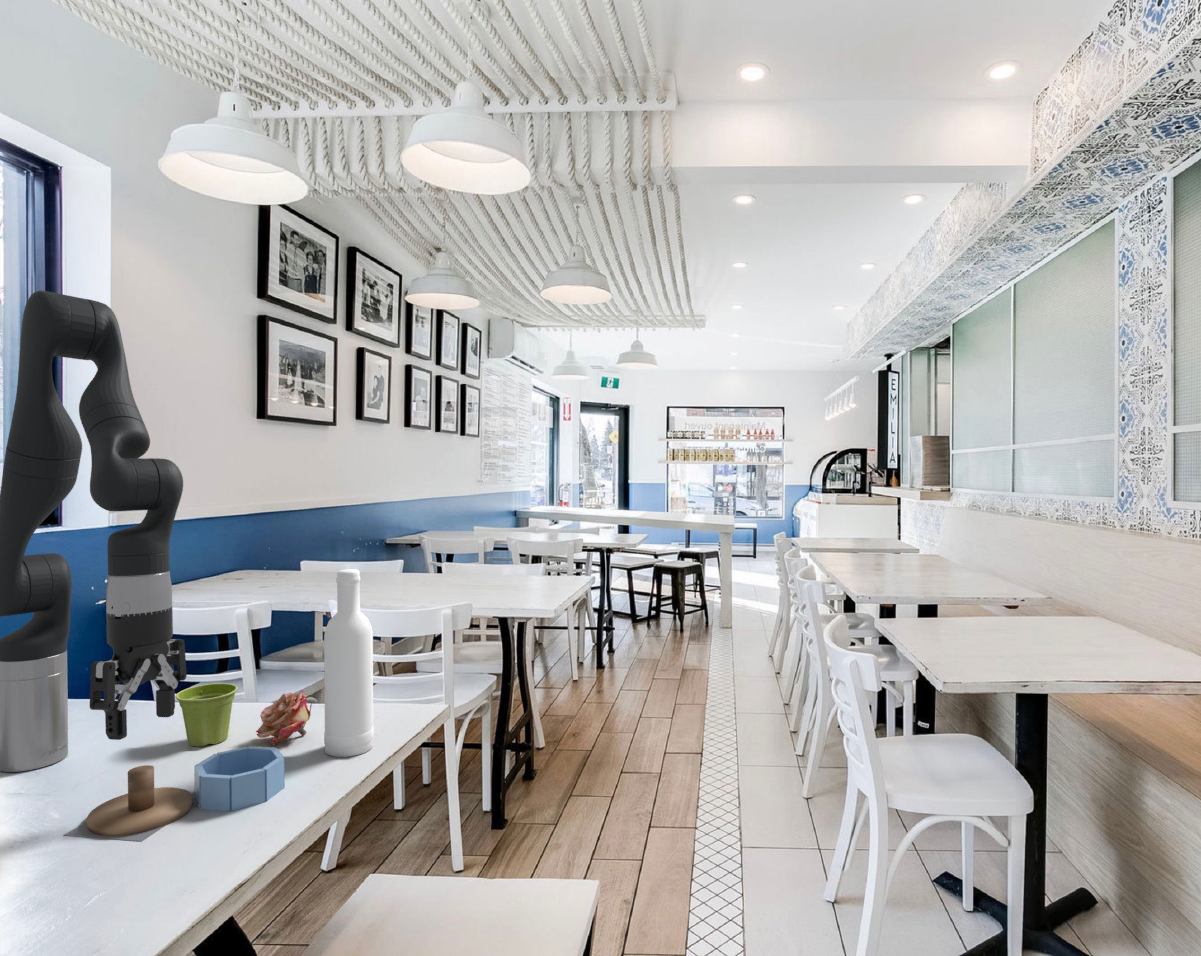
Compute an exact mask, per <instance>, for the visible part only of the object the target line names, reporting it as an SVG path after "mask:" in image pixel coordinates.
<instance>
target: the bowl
mask: <svg viewBox="0 0 1201 956" xmlns="http://www.w3.org/2000/svg"><path fill="white" fill-rule="evenodd" d="M193 767H194V771H193V772H194V773H193V775H194V794H195V799H196V801H197V803H198V808H199V809H200V810H206V811H207V810H209V811H211V810H212V811H223V812H224V811H225V812H230V811H236V810H241V809H245V808H248V807H252V806H256V805H260V804H264V803H266V802H268V801H269V800H271V799H272V798H274V796H276V795H277V794H279V793H281V792H282V790H284V789H285V785H286V784H285V756H284V755H283V753H282V752H281V751H280V750H279V748H278V747H277V748H276V747H271V746H254V745H253V746H251V745H250V746H244V747H239V748H234V749H233V748H232V749H229V750H224V751H221V752H216V753H213V754H212V755H210V756H209V757H206V758H205V759H203V760H201V761H200V762H198V763H196V764H195V765H194V766H193Z"/></svg>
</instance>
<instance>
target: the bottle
mask: <svg viewBox="0 0 1201 956" xmlns="http://www.w3.org/2000/svg"><path fill="white" fill-rule="evenodd" d="M360 575H361V574H360V570H359V569H353V568H349V569H340V570H338V571H337V573H336V578H335V579H336V585H337V586H336V589H337V590H336V593H337V595H336V596H337V597H336V599H337V601H336V605H337V607H336V609H337V611H336V613H335V614H334V615H333V617H331V618H330V619H329V620H328V623H327V625H326V628H325V630H324V635H323V641H324V643H323V644H324V646H323V647H324V648H323V649H324V651H323V652H324V653H323V654H324V656H323V657H324V668H323V669H324V734H323V735H324V736H323V737H324V738H323V741H324V742H323V743H324V752H325V753H326V755H328V756H330V757H334V758H337V757H338V758H347V757H348V758H349V757H355V756H359V755H362V754H365V753H367V752H369V751H371V749H372V748H373V747H374V738H375V728H374V727H375V726H374V632H373V627H372V624H371V623H370V620H369V618H368V617H367V616H366V615H365V614H364V613H363V612H362V611H361V610H360V609H361V602H360V601H361V594H360V593H361V590H360V589H361V587H360V586H361V585H360V584H361V576H360Z"/></svg>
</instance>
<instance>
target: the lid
mask: <svg viewBox="0 0 1201 956" xmlns="http://www.w3.org/2000/svg"><path fill="white" fill-rule="evenodd" d="M192 794H193V793H192V792H190V791H189V790H187V789H184V788H181V787H172V786H171V787H170V786H169V787H166V786H165V787H164V786H163V787H155V767H154V765H150V764H148V765H140V766H136V767H133V768H131V769H129V770H128V771H127V793H125V794H122V795H118V796H116V797H113V798H111V799H109V800H107V801H105V802H103V803H101V804H99V805H97V806H95V808H93V809H92V810H91V811H90V812H89V814H88V815H87V817H86V822H87V829H88V830H89V831H90V832H91V833H93V834H96V835H100V836H125V835H132V834H137V833H142V832H146V831H150V830H153V829H156V828H159V827H162V826H164V827H166V826H168V825H170V824H172V823H174V822H175V821H178V820H180V819H181V818H183V817H184V816H186V815H187V814H188V813H189V812H190V811H191V810H192V809H191V807H192ZM165 825H166V826H165Z"/></svg>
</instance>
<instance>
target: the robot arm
mask: <svg viewBox="0 0 1201 956" xmlns="http://www.w3.org/2000/svg"><path fill="white" fill-rule="evenodd" d="M19 341H20V344H19V359H18V360H19V361H18V372H17V373H18V374H17V386H16V394H15V400H14V405H13V406H14V407H13V412H12V416H11V417H12V418H11V424H10V428H9V433H8V438H7V442H6V447H5V449H6V450H5V454H4V460H3V465H2V466H3V467H2V475H1V476H2V477H1V487H0V617H9V616H17V615H23V614H24V615H26V614H29V613H30V614H31V613H33V614H32V616H31V618H30V620H29V621H27V622H26V623H25V624H24V625H23V626H21V627H20V628H18V629H16V630H15V631H13V632H11V633H9V634H7V635H4V636H2V637H1V638H0V772H6V773H11V772H12V773H15V772H25V771H31V770H36V769H39V768H43V767H44V768H45V767H47V766H50V765H54V764H56V763H58V762H60V761H63V760H64V759H65V758H66V757H68V755H69V721H68V720H69V717H68V716H69V714H68V713H69V712H68V711H69V707H68V705H69V704H68V701H69V700H68V697H69V696H68V693H69V692H68V691H69V689H68V639H69V636H70V635H69V634H70V631H71V630H70V629H71V628H70V627H71V608H72V607H71V605H72V604H71V602H72V587H73V586H72V583H73V581H72V580H73V578H72V573H71V567H70V565H69V563H68V561H67V559H66V558H65V556H63V555H61V554H59V553H55V552H54V553H49V552H48V553H38V554H26V555H25V553H26V550H27V548H28V545H29V543H30V540H31V538H32V536H33V535H34V533H35V532H36V530H37V529H38V528H39V527H40V526H41V524H42V523H43V522H44V521H46V519H47V518H48V517H49V516H50V515H51V514H52V513H53V512H54V511H55V510H56V509H57V507H59V506H60V505H61V503H63V501H64V500H66V498H67V497H68V495H69V494H70V493H71V492H72V490H73V488H74V486H75V485H76V483H77V480H78V479H77V478H78V474H79V470H80V464H81V458H82V454H83V453H82V452H83V442H82V437H81V435H80V433H79V431H78V428H77V427H76V424H75V423H74V421H73V420H72V418H71V416H70V415H69V413H68V411H67V410H66V408H65V407H64V404H63V403H62V401H61V399H60V397H59V395H58V392H57V390H56V386H55V384H54V379H53V378H54V377H53V359H54V357H60V358H65V359H72V360H73V359H74V360H84V361H92V362H93V363H94V364H95V366H96V368H97V369H96V372H95V374H94V375H93V377H92V379H91V381H90V382H89V384H88V385H87V386H86V388H85V389H84V391H83V392H82V394H81V397H80V400H79V404H78V413H79V414H78V415H79V418H80V422H81V425H82V428H83V431H84V433H85V436H86V439H87V441H88V444H89V447H90V456H91V458H90V459H91V469H90V481H89V493H90V495H91V498H92V500H93V502H94V503H95V504H96V505H98V506H99V508H101V509H103V510H105V511H108V512H131V511H132V512H134V511H135V512H136V511H146V514H145V516H144V518H143V519H142V520H141V522H140V523H139V524H138V525H134V526H131V527H128V528H123V529H120V530H117V531H114V532H112V533H111V534H110V535H109V536H108V539H107V585H106V588H105V589H106V591H105V607H106V610H105V611H106V613H105V615H106V616H105V617H106V643H107V644H108V646H110V647H111V649H112V651H113V653H112V657H111V658H110V660H106V661H93V662H92V663H91V665H90V676H89V677H90V681H89V682H90V683H89V685H90V686H89V709H90V710H93V711H104V715H105V718H104V719H105V735H106V737H107V738H108V739H109V740H112V741H115V740H116V741H120V740H123V739H125V738H126V737H127V736H128V729H127V728H128V725H127V723H128V720H127V717H128V716H127V714H128V713H127V709H126V705H127V704H128V702H129V700H130V698H131V696H132V695H134V694H135V693H136V692H137V690H138V687H139V686H141V685H143V684H145V683H147V682H148V681H151V682H152V683H153V684H154V686H155V687H156V689H157V690H155V702H156V703H155V705H156V706H155V708H156V716H157V717H158V718H169V717H172V716H174V714H175V709H176V700H175V699H176V692H175V691H176V690H175V689H177V687H178V684H179V683H180V682H182V681H185V680H186V679H187V661H186V657H187V656H186V645H185V644H186V643H185V640H184V639H180V638H177V639H175V638H172V637H173V635H174V627H173V625H174V624H173V623H174V622H173V621H174V620H173V614H174V613H173V586H172V580H171V572H170V569H171V568H170V565H171V564H170V541H171V535H172V530H173V525H174V522H175V518H176V515H177V511H178V508H179V506H180V502H181V499H182V495H183V491H184V478H183V475H182V472H181V470H180V468H179V466H178V465H177V464H176V463H175V462H173V460H170V459H166V458H151V457H150V458H141V457H142V456H144V455H145V454H146V453H147V451H148V450H149V448H150V446H151V445H150V444H151V438H150V435H149V432H148V429H147V426H146V424H145V422H144V420H143V419H144V418H143V417H142V414H141V412H140V411H139V408H138V406H137V403H136V400H135V397H134V394H133V391H132V385H131V380H130V376H129V369H128V363H127V357H126V353H125V348H124V344H123V343H124V342H123V337H122V332H121V328H120V325H119V321H118V318H117V316H116V314H115V312H114V311H113V310H112V308H111V307H110V306H109V305H107V304H105V303H103V302H100V301H97V300H93V299H88V298H82V297H77V296H74V295H73V296H72V295H67V294H63V293H57V292H52V291H49V290H37V291H35V292H33V293H32V294H30V296H29V298H28V299H27V300H26V303H25V306H24V309H23V315H22V320H21V331H20V340H19ZM174 665H176V669H177V670H176V671H175V666H174ZM121 682H122V683H123V684H120V683H121ZM102 692H103V699H102ZM118 695H119V696H118ZM117 696H118V699H116V698H117Z"/></svg>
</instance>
